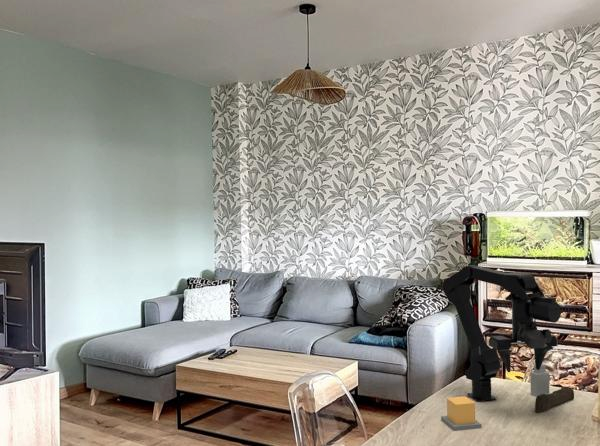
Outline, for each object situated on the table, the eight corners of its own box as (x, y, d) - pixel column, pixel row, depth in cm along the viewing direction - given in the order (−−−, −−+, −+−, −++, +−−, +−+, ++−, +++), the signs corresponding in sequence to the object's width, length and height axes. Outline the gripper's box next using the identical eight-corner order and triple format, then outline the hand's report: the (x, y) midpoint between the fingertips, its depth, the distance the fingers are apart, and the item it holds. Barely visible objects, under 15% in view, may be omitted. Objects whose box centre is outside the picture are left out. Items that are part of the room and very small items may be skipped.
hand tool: (562, 397, 174) (562, 382, 174) (574, 400, 171) (574, 385, 171) (526, 411, 163) (526, 395, 163) (539, 415, 160) (539, 399, 160)
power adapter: (529, 394, 177) (529, 356, 177) (543, 392, 179) (542, 354, 179) (537, 397, 174) (536, 359, 174) (550, 395, 176) (550, 357, 176)
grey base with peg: (441, 419, 158) (440, 402, 157) (467, 417, 159) (467, 399, 159) (453, 430, 150) (453, 412, 150) (481, 427, 151) (481, 409, 151)
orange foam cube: (447, 417, 157) (446, 397, 156) (465, 415, 158) (465, 396, 157) (456, 424, 151) (455, 404, 151) (475, 423, 152) (475, 402, 152)
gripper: (507, 324, 152) (508, 381, 152) (569, 320, 155) (570, 376, 156) (487, 317, 163) (488, 370, 163) (545, 313, 166) (546, 365, 166)
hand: (523, 370), depth 162 cm, fingers open, 9 cm apart
